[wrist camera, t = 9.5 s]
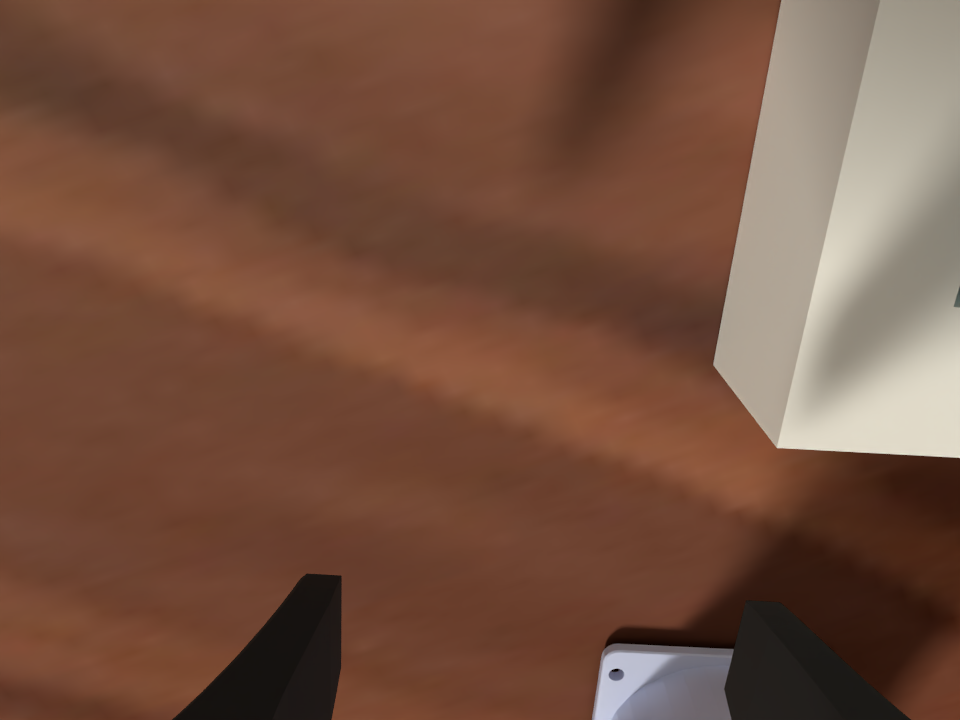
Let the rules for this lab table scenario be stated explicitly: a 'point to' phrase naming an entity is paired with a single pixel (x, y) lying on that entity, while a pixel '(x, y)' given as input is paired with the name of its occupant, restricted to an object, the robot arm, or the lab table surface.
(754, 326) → the hole board
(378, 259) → the lab table surface
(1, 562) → the lab table surface
